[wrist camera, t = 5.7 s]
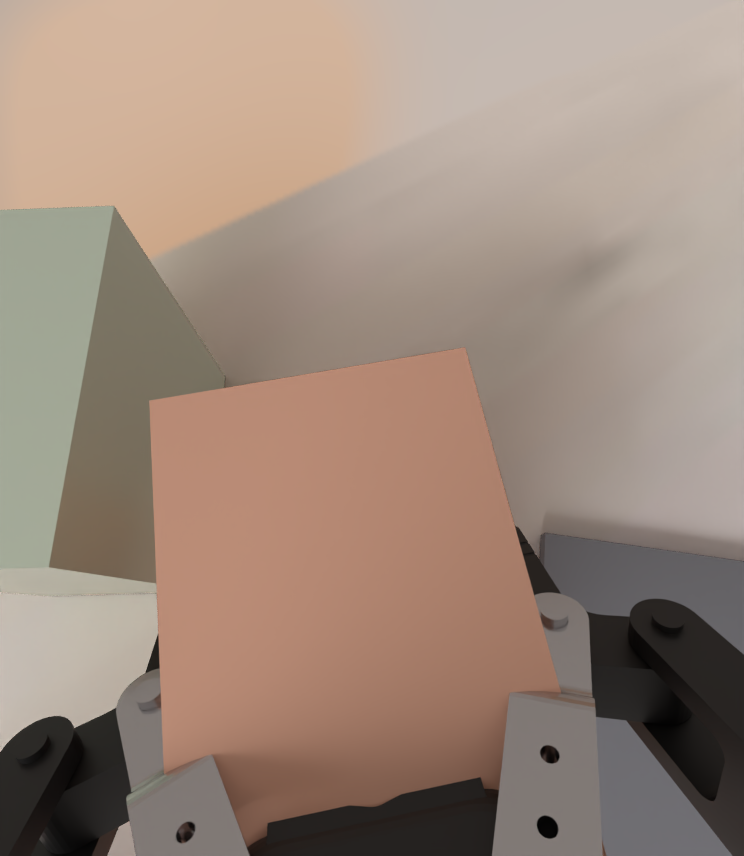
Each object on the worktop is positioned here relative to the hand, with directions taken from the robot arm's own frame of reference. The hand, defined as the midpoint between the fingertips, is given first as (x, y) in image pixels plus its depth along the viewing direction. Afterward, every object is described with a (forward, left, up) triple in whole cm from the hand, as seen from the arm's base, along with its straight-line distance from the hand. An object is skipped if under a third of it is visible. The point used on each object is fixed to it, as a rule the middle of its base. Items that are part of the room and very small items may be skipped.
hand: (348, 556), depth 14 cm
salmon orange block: (0, -2, -4) cm, 5 cm away
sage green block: (-9, +2, -6) cm, 11 cm away
